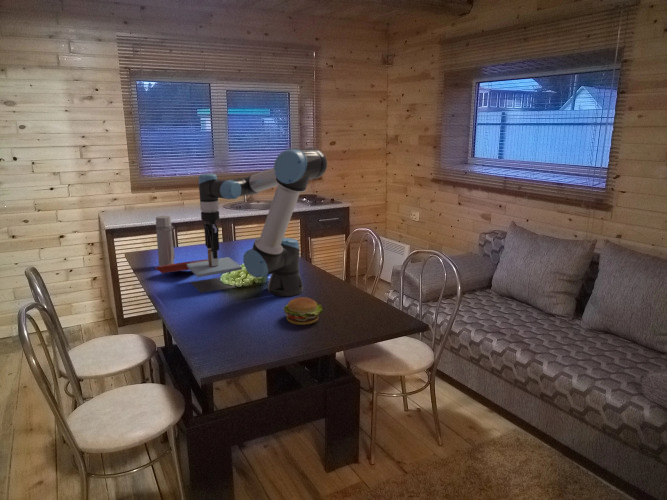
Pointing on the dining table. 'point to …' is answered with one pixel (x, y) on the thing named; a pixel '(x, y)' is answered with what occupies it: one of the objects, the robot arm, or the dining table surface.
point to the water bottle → (164, 240)
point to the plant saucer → (176, 267)
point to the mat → (210, 285)
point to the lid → (207, 268)
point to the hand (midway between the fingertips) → (213, 264)
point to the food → (302, 311)
